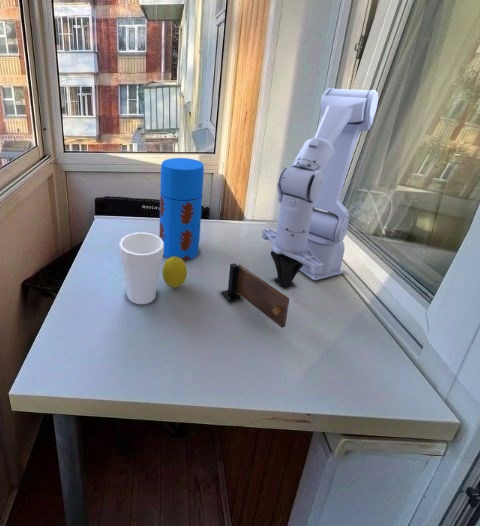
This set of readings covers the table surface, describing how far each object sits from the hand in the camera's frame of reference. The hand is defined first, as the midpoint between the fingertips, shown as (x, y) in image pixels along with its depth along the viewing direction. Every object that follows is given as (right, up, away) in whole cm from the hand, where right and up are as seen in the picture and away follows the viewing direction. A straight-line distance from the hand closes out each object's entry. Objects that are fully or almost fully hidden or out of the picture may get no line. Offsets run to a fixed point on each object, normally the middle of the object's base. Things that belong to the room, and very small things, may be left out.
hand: (284, 283), depth 70 cm
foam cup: (-30, -4, +4) cm, 31 cm away
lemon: (-23, -3, +6) cm, 24 cm away
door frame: (-4, -3, +5) cm, 7 cm away
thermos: (-20, +2, +21) cm, 29 cm away
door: (-7, -4, -2) cm, 8 cm away
